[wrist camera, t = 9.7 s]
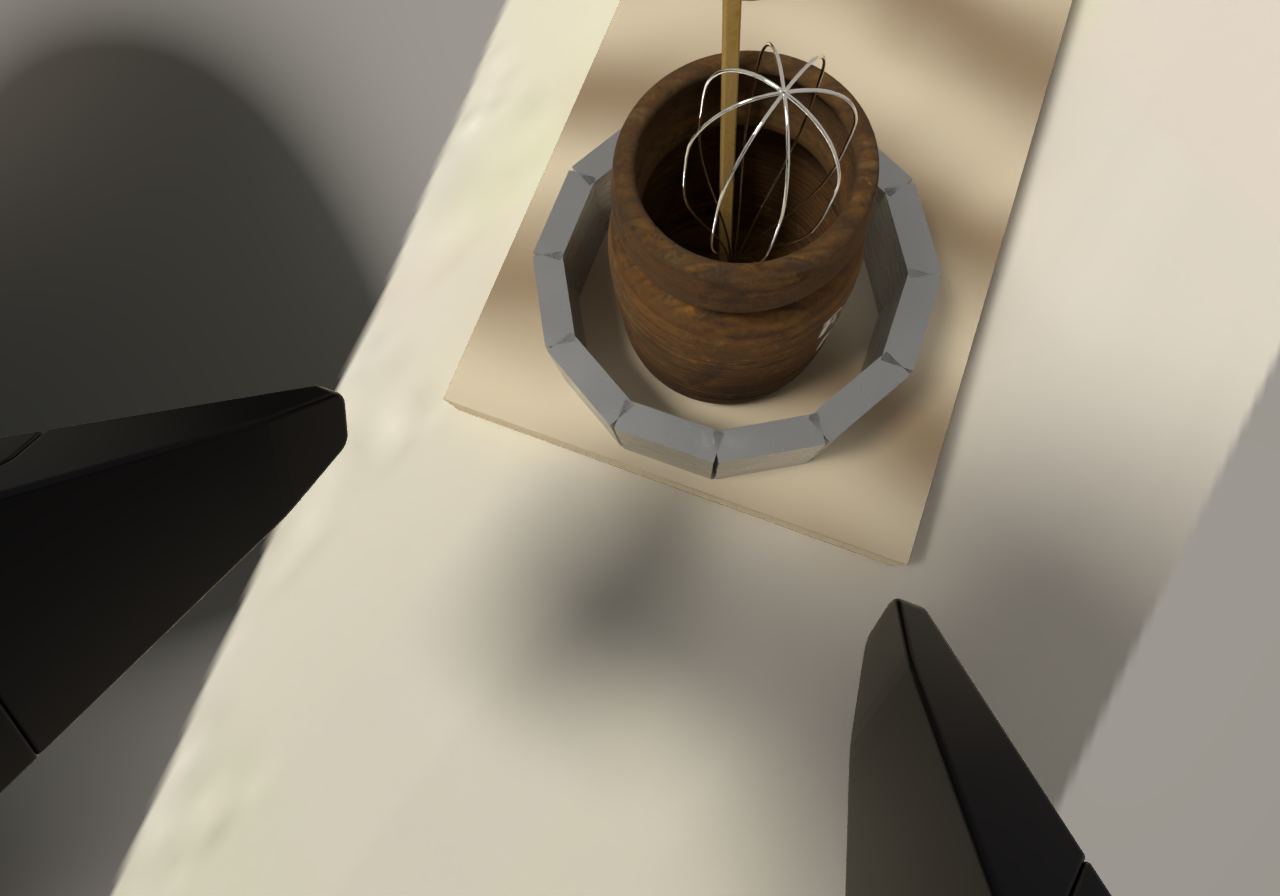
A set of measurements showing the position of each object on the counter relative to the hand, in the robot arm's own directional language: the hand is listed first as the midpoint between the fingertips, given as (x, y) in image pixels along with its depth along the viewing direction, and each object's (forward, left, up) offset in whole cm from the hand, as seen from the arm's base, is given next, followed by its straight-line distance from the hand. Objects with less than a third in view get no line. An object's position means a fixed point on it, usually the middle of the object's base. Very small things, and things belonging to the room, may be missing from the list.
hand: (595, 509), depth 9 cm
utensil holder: (+7, 0, -8) cm, 11 cm away
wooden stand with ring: (+13, 0, -9) cm, 16 cm away
